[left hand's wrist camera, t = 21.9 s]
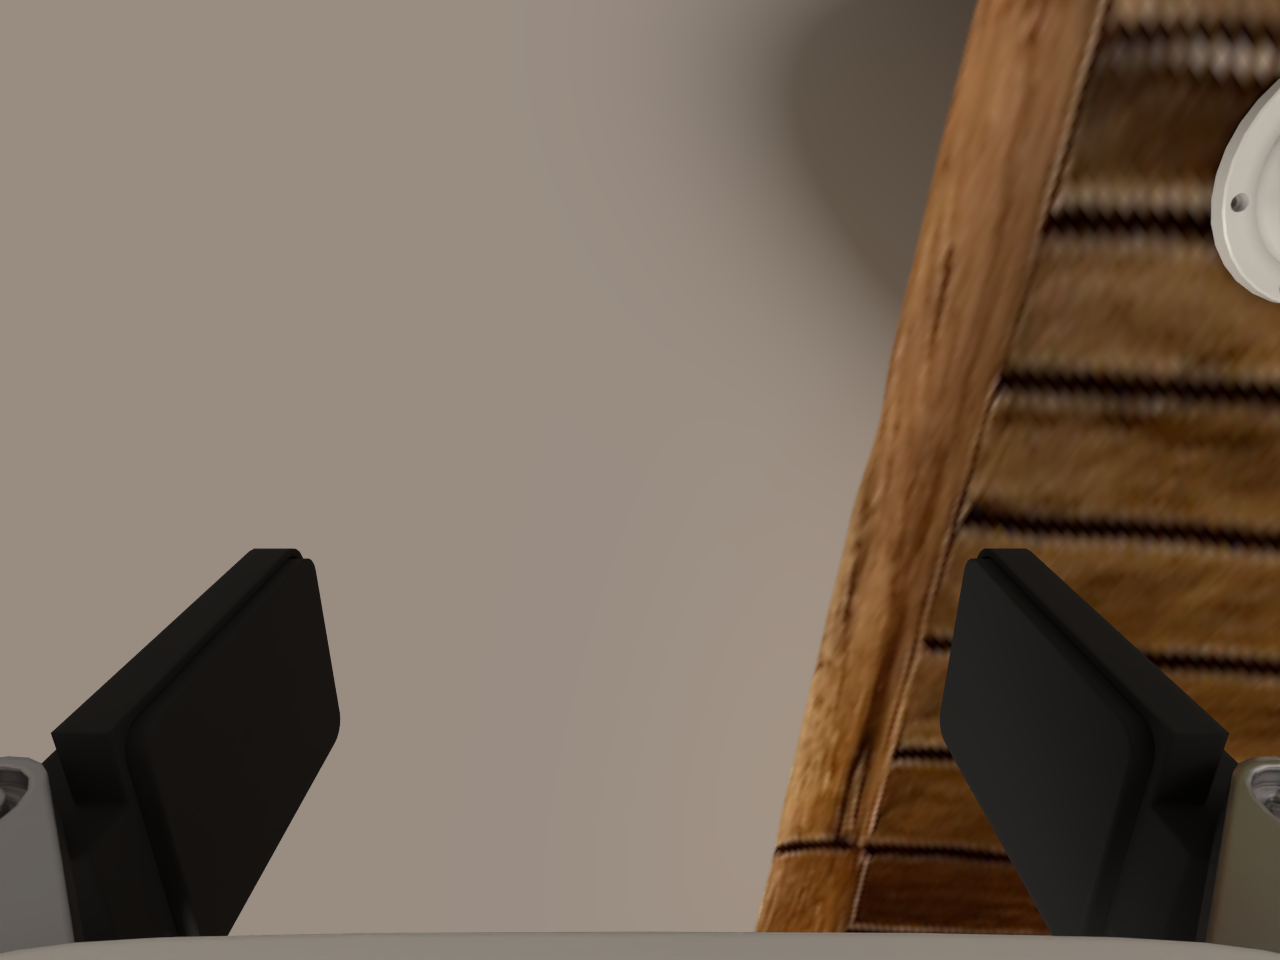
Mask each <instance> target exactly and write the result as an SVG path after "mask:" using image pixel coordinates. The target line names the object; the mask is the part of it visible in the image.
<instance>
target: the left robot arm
mask: <svg viewBox="0 0 1280 960" xmlns="http://www.w3.org/2000/svg"><path fill="white" fill-rule="evenodd" d="M1211 226H1212V231H1213V236H1214V241H1215V246H1216V248H1217V251H1218V253H1219V255H1220V257H1221V260H1222V262H1223V264H1224V266H1225V267H1226V268H1227V270H1228V271H1229V272H1230V273H1231V275H1232V276H1233V277H1234V279H1235V280H1236V281H1237V282H1238V283H1240V284H1241V285H1242V286H1243V287H1245V288H1246V289H1247V290H1249V291H1250V292H1251V293H1253V294H1255V295H1257V296H1259V297H1262V298H1264V299H1266V300H1268V301H1271V302H1276V303H1280V79H1278V80H1277V81H1276V82H1275V83H1274V84H1273V85H1272V86H1271V87H1270V88H1269V89H1268V90H1267V91H1266V92H1265V93H1264V94H1263V95H1262V96H1261V97H1260V98H1259V99H1258V100H1257V101H1256V103H1255V104H1254V105H1253V107H1252V108H1251V109H1250V111H1249V112H1248V113H1247V115H1246V116H1245V117H1244V118H1243V120H1242V121H1241V122H1240V124H1239V126H1238V127H1237V129H1236V131H1235V133H1234V135H1233V136H1232V138H1231V140H1230V142H1229V144H1228V145H1227V147H1226V149H1225V152H1224V155H1223V157H1222V160H1221V163H1220V165H1219V168H1218V171H1217V173H1216V178H1215V183H1214V188H1213V193H1212V198H1211ZM339 727H340V712H339V706H338V700H337V694H336V688H335V682H334V676H333V670H332V664H331V658H330V652H329V646H328V641H327V635H326V629H325V623H324V617H323V611H322V605H321V599H320V593H319V587H318V581H317V575H316V570H315V566H314V564H313V562H312V560H310V559H303V557H302V555H301V554H300V552H299V551H298V550H297V549H253V550H251V551H249V552H248V553H247V554H246V555H245V556H244V557H243V558H242V559H241V560H239V561H238V562H237V563H236V564H235V565H234V566H233V567H232V568H231V569H230V570H229V571H227V572H226V573H225V574H224V575H223V576H222V577H221V578H220V579H219V580H218V581H217V582H215V583H214V584H213V585H212V586H211V587H210V588H209V589H208V590H207V591H206V592H204V593H203V594H202V595H201V596H200V597H199V598H198V599H197V600H196V601H195V602H194V603H193V604H191V605H190V606H189V607H188V608H187V609H186V610H185V611H184V612H183V613H182V614H181V615H179V616H178V617H177V618H176V619H175V620H174V621H173V622H172V623H171V624H170V625H168V626H167V627H166V628H165V629H164V630H163V631H162V632H161V633H160V634H159V635H158V636H157V637H155V638H154V639H153V640H152V641H151V642H150V643H149V644H148V645H147V646H146V647H144V648H143V649H142V650H141V651H140V652H139V653H138V654H137V655H136V656H135V657H134V658H132V659H131V660H130V661H129V662H128V663H127V664H126V665H125V666H124V667H123V668H122V669H120V670H119V671H118V672H117V673H116V674H115V675H114V676H113V677H112V678H111V679H110V680H108V681H107V682H106V683H105V684H104V685H103V686H102V687H101V688H100V689H99V690H97V691H96V692H95V693H94V694H93V695H92V696H91V697H90V698H89V699H88V700H87V701H85V702H84V703H83V704H82V705H81V706H80V707H79V708H78V709H77V710H76V711H75V712H74V713H72V714H71V715H70V716H69V717H68V718H67V719H66V720H65V721H64V722H63V723H61V724H60V725H59V726H58V727H57V728H56V729H55V730H54V731H53V732H52V733H51V735H52V738H53V741H54V744H55V747H56V750H55V751H54V752H53V753H52V754H51V755H50V756H49V757H48V758H47V759H46V760H45V761H44V762H43V763H39V762H37V761H35V760H32V759H30V758H26V757H10V756H8V757H0V960H1280V757H1272V756H1270V757H1254V758H1250V759H1247V760H1245V761H1243V762H1241V763H1237V762H1236V761H1235V760H1234V759H1233V758H1232V757H1231V756H1230V755H1229V754H1228V753H1227V752H1226V751H1225V750H1224V747H1225V744H1226V741H1227V738H1228V735H1229V733H1228V732H1227V731H1226V730H1225V729H1224V728H1223V727H1222V726H1221V725H1220V724H1219V723H1217V722H1216V721H1215V720H1214V719H1213V718H1212V717H1211V716H1210V715H1209V714H1208V713H1207V712H1205V711H1204V710H1203V709H1202V708H1201V707H1200V706H1199V705H1198V704H1197V703H1196V702H1195V701H1193V700H1192V699H1191V698H1190V697H1189V696H1188V695H1187V694H1186V693H1185V692H1184V691H1183V690H1181V689H1180V688H1179V687H1178V686H1177V685H1176V684H1175V683H1174V682H1173V681H1172V680H1170V679H1169V678H1168V677H1167V676H1166V675H1165V674H1164V673H1163V672H1162V671H1161V670H1160V669H1158V668H1157V667H1156V666H1155V665H1154V664H1153V663H1152V662H1151V661H1150V660H1149V659H1148V658H1146V657H1145V656H1144V655H1143V654H1142V653H1141V652H1140V651H1139V650H1138V649H1137V648H1136V647H1134V646H1133V645H1132V644H1131V643H1130V642H1129V641H1128V640H1127V639H1126V638H1125V637H1124V636H1122V635H1121V634H1120V633H1119V632H1118V631H1117V630H1116V629H1115V628H1114V627H1113V626H1112V625H1110V624H1109V623H1108V622H1107V621H1106V620H1105V619H1104V618H1103V617H1102V616H1101V615H1100V614H1098V613H1097V612H1096V611H1095V610H1094V609H1093V608H1092V607H1091V606H1090V605H1089V604H1088V603H1086V602H1085V601H1084V600H1083V599H1082V598H1081V597H1080V596H1079V595H1078V594H1077V593H1076V592H1074V591H1073V590H1072V589H1071V588H1070V587H1069V586H1068V585H1067V584H1066V583H1065V582H1063V581H1062V580H1061V579H1060V578H1059V577H1058V576H1057V575H1056V574H1055V573H1054V572H1053V571H1051V570H1050V569H1049V568H1048V567H1047V566H1046V565H1045V564H1044V563H1043V562H1042V561H1041V560H1039V559H1038V558H1037V557H1036V556H1035V555H1034V554H1033V553H1032V552H1031V551H1029V550H1027V549H983V550H982V551H981V552H980V553H979V555H978V557H977V559H970V560H968V562H967V564H966V566H965V570H964V575H963V581H962V587H961V593H960V599H959V605H958V611H957V617H956V623H955V629H954V635H953V640H952V646H951V652H950V658H949V664H948V670H947V676H946V682H945V688H944V694H943V700H942V706H941V712H940V727H941V733H942V736H943V739H944V741H945V743H946V745H947V747H948V749H949V750H950V752H951V754H952V756H953V758H954V759H955V761H956V763H957V765H958V767H959V768H960V770H961V772H962V774H963V776H964V777H965V779H966V781H967V783H968V785H969V786H970V788H971V790H972V792H973V794H974V795H975V797H976V799H977V801H978V803H979V804H980V806H981V808H982V810H983V812H984V813H985V815H986V817H987V819H988V821H989V822H990V824H991V826H992V828H993V830H994V831H995V833H996V835H997V837H998V839H999V840H1000V842H1001V844H1002V846H1003V848H1004V849H1005V851H1006V853H1007V855H1008V857H1009V858H1010V860H1011V862H1012V864H1013V866H1014V867H1015V869H1016V871H1017V873H1018V875H1019V876H1020V878H1021V880H1022V882H1023V884H1024V885H1025V887H1026V889H1027V891H1028V893H1029V894H1030V896H1031V898H1032V900H1033V902H1034V903H1035V905H1036V907H1037V909H1038V911H1039V912H1040V914H1041V916H1042V918H1043V920H1044V921H1045V923H1046V925H1047V927H1048V929H1049V930H1050V932H1051V934H1052V936H1030V935H980V934H930V933H788V932H495V933H493V932H492V933H350V934H300V935H250V936H228V934H229V932H230V930H231V929H232V927H233V925H234V923H235V921H236V920H237V918H238V916H239V914H240V912H241V911H242V909H243V907H244V905H245V903H246V902H247V900H248V898H249V896H250V894H251V893H252V891H253V889H254V887H255V885H256V884H257V882H258V880H259V878H260V876H261V875H262V873H263V871H264V869H265V867H266V866H267V864H268V862H269V860H270V858H271V857H272V855H273V853H274V851H275V849H276V848H277V846H278V844H279V842H280V840H281V839H282V837H283V835H284V833H285V831H286V830H287V828H288V826H289V824H290V822H291V821H292V819H293V817H294V815H295V813H296V812H297V810H298V808H299V806H300V804H301V803H302V801H303V799H304V797H305V795H306V794H307V792H308V790H309V788H310V786H311V785H312V783H313V781H314V779H315V777H316V776H317V774H318V772H319V770H320V768H321V767H322V765H323V763H324V761H325V759H326V758H327V756H328V754H329V752H330V750H331V749H332V747H333V745H334V743H335V741H336V739H337V736H338V733H339Z"/></svg>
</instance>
